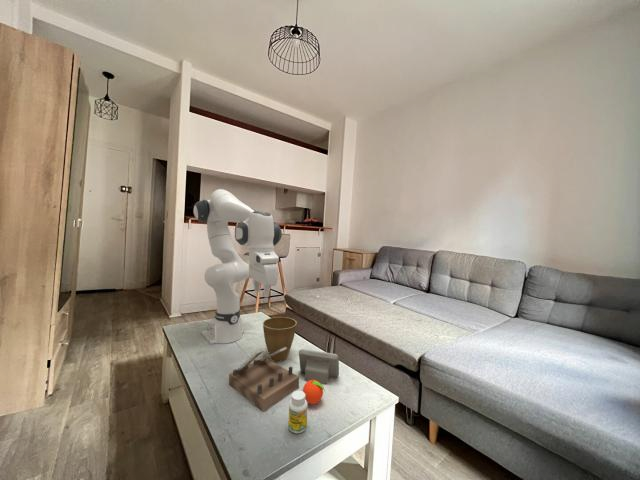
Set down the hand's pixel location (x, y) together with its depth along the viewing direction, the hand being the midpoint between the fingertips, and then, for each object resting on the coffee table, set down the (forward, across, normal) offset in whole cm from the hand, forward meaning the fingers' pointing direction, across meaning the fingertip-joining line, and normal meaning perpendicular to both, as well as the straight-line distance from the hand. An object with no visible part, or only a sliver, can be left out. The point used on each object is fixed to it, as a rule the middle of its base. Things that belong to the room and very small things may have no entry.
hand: (261, 293), depth 88 cm
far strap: (+25, -2, +5) cm, 26 cm away
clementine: (+35, +17, +12) cm, 41 cm away
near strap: (+24, 0, -4) cm, 24 cm away
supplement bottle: (+35, +23, +3) cm, 42 cm away
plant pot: (+34, -15, +14) cm, 39 cm away
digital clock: (+35, +6, +21) cm, 41 cm away
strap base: (+34, +1, +1) cm, 34 cm away
